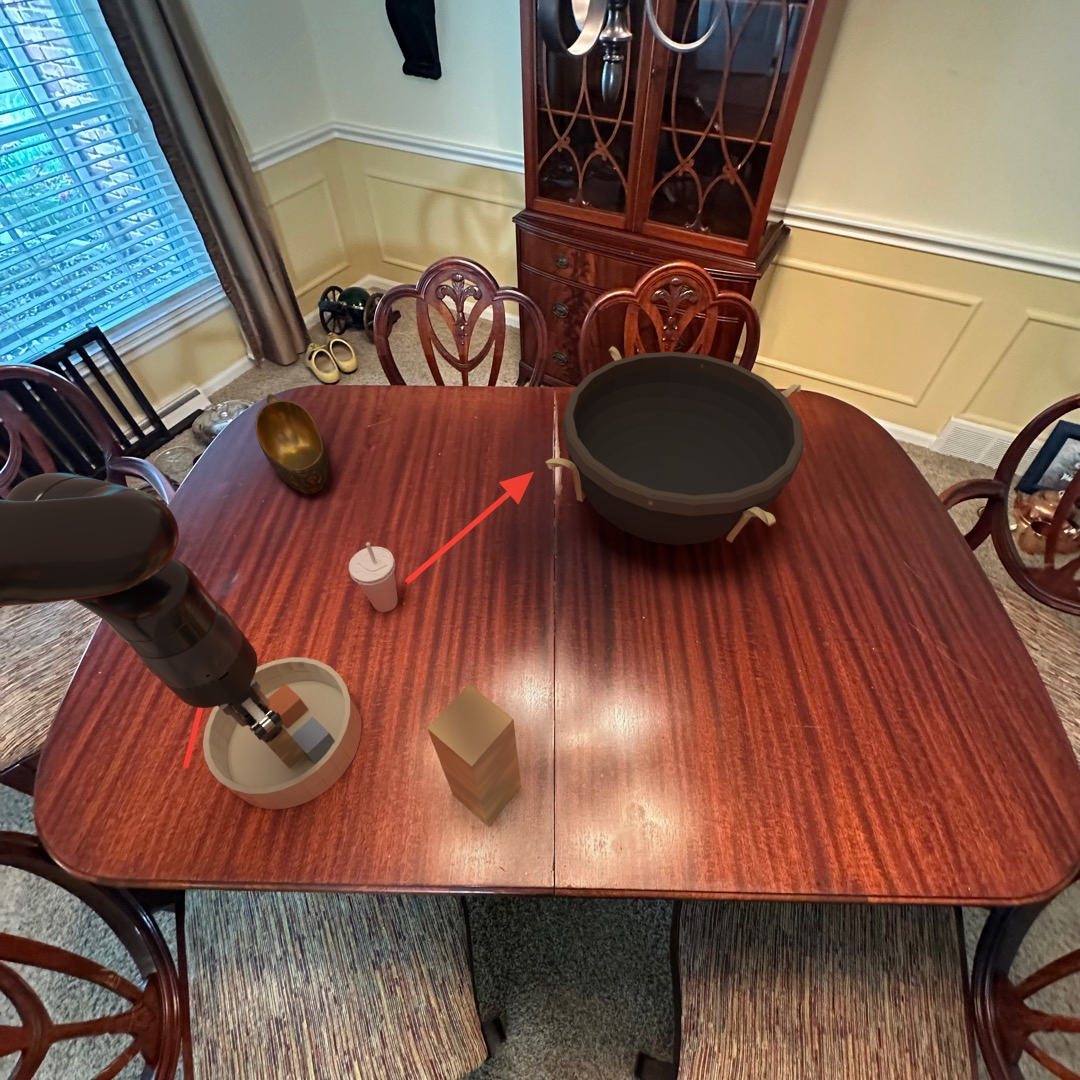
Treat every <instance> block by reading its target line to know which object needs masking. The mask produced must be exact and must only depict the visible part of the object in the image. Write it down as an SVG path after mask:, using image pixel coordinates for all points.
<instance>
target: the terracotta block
mask: <svg viewBox="0 0 1080 1080" xmlns="http://www.w3.org/2000/svg"><path fill="white" fill-rule="evenodd" d="M268 700H269V701H270V705H269V707H268V708H269V710H270V709H272V710H273V711H275V712H276V713H277V712H278V713H279V714H280V715H281V716H280V718H281V719H282V721H283V725H284V726H285V727H286V728H288V727H290V726H291V725H292V724H293V723H294V722H295V721H296V720H297V719H298V718H300V717H301V716H302V715H303V714H304V713H305V712H306V711H307V710H308V708H307V707H306V705H305V704H304V703H303V701H302V700H301V698H300V697H299V696H298V695H297V694H295V693H294V692H293V691H292V690H291V689H290V688H289V687H288V686H287V685H286V684H284V685H283V686H282V687H280V688H279V689H278V690H277V691H276V692H275V693H273V694H272V695H271V696H270V697H269V698H268Z"/></svg>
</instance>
